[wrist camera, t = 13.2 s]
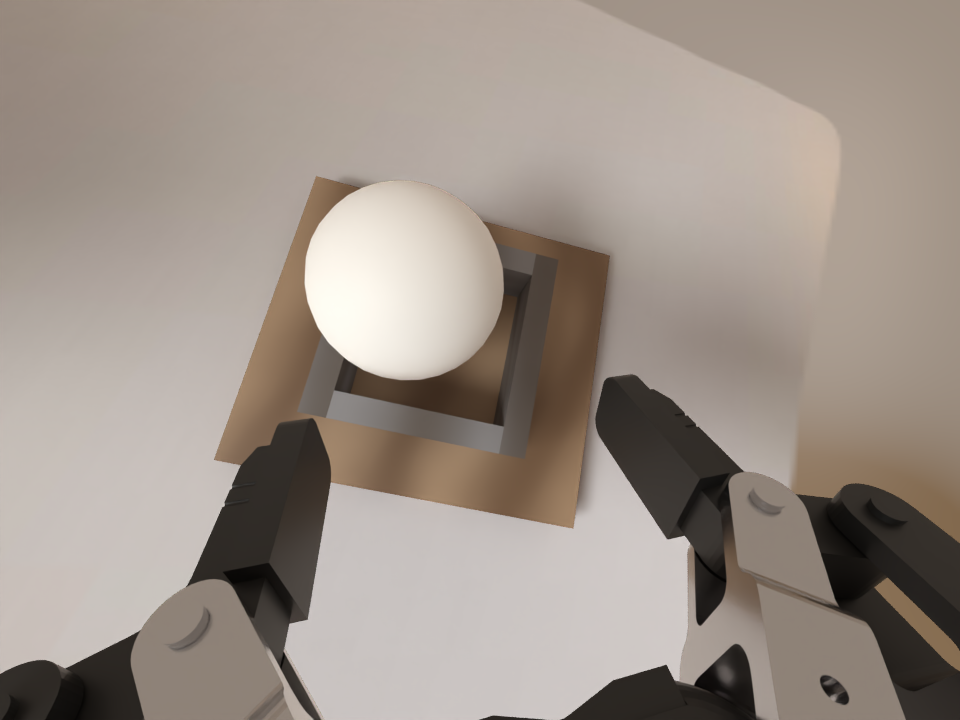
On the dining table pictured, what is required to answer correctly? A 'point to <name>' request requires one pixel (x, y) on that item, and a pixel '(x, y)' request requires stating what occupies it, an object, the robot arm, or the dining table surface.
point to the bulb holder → (442, 387)
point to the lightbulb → (404, 280)
